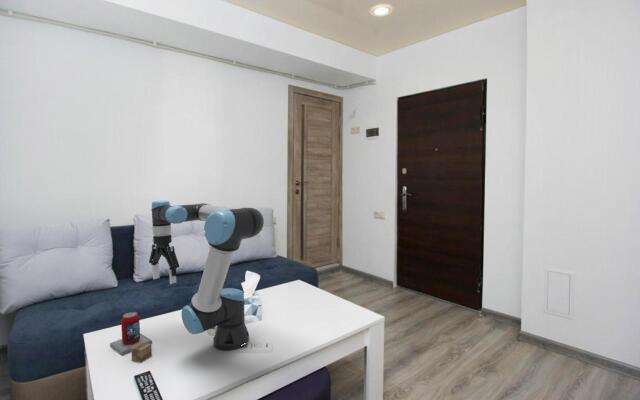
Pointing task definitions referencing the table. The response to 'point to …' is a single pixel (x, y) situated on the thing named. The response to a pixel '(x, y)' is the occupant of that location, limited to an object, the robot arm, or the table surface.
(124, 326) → the beverage can
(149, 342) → the coaster
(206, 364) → the table surface
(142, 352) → the walnut block
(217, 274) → the robot arm
